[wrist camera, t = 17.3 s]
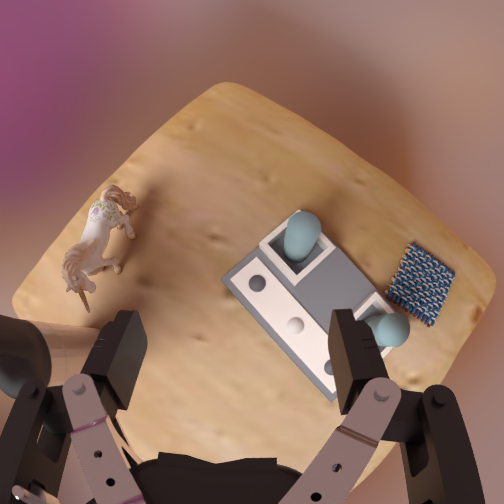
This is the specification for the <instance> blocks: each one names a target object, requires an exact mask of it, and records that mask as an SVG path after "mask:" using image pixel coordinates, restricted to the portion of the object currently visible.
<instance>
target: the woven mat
mask: <svg viewBox="0 0 504 504" xmlns="http://www.w3.org/2000/svg"><path fill="white" fill-rule="evenodd" d="M415 245H416V243H415V242H413V243H412V245H411V244H409V243H408V246H409V247H410V249H409V248H406V249H405V252H407V256H406V255H404V254H403V255H402V257H403V258H404V259H405V260H403V259H401V260H400V263H401V264H402V266H401V267H400V266H399V267H398V270H399V272H398V273H397V272H396V274H395V276H396V278H394V277H392V278H391V281H392V282H393V284H392V285H391V284H389V283H388V285H387V286H389V287H390V290H389V291H388V290H385V295H387V296H386V298H389V297H390V298H391V299H390V300H389V301H392V300H394V303H395V304H396V303H398V306H403V307H402V308H403V309H405V308H406V310H405V311H406V312H408V310H409V311H410V314H414V315H413V316H414V317H415V316H418V317H417V319H421V322H423V321H425V323H424V324H427V327H430V325H431V326H433V325H434V320H435V322H436V321H437V320H436V318H439V317H437V315H439V312H440V309H441V310H442V309H443V308H441V307H442V306H443V302H446V301H444V300H445V296H446V298H447V294H449V293H448V290H449V291H450V289H449V287H450V285H451V286H452V282H454V281H453V279H455V278H454V277H455V272H454V271H452V270H451V269H450V268H448V267H447V266H446V265H445V264H444V263H442V264H441V262H440V261H439V260H438V259H437V258H435V259H434V256H433V255H431V254H430V253H429V252H428V254H427V251H424V249H423V248H422V247H420V246H418V245H416V247H415ZM419 247H420V250H419ZM413 250H414V252H413ZM417 253H418V254H417ZM410 256H411V258H410ZM430 256H431V257H430ZM424 258H425V259H424ZM414 259H415V260H414ZM428 261H429V262H428ZM437 261H438V262H437ZM408 262H409V263H408ZM418 262H419V263H418ZM421 265H422V266H421ZM425 266H426V269H425ZM415 267H416V268H415ZM419 269H420V271H419ZM402 272H403V274H402ZM432 273H433V274H432ZM412 274H413V275H412ZM416 275H417V278H416ZM406 276H407V278H406ZM449 276H450V277H449ZM410 279H411V280H410ZM399 280H400V281H399ZM443 280H444V281H443ZM424 281H425V282H424ZM403 283H404V284H403ZM437 283H438V284H437ZM446 283H447V284H446ZM395 286H397V287H395ZM406 286H407V287H406ZM431 286H432V287H431ZM400 288H401V290H400ZM410 289H411V290H410ZM414 290H415V292H414ZM438 291H439V292H438ZM393 292H394V293H393ZM428 292H429V293H428ZM392 293H393V295H392ZM408 294H409V295H408ZM396 295H397V297H396ZM411 297H412V298H411ZM400 298H401V300H400ZM425 299H426V300H425ZM439 299H440V300H439ZM404 300H406V301H405V303H404ZM429 301H430V302H429ZM412 305H413V307H412ZM436 306H437V308H436ZM416 308H417V309H416ZM419 312H420V313H419ZM427 315H428V316H427Z"/></svg>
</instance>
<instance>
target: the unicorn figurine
mask: <svg viewBox="0 0 504 504" xmlns="http://www.w3.org/2000/svg"><path fill="white" fill-rule="evenodd" d="M129 195H130V192H123V191H122V190H121V189H120V188H119V187H118V186H115V185H109V186H108V187H107V188H105V189H104V190H103V191H102V193H101V198H100V199H97V200H96V201H95V202H94V203H93V204H92V206H91V208H90V210H89V214H88V220H87V223H86V226H85V229H84V231H83V234H82V237H81V240H80V241H79V243H78V244H76V245H75V246H73V247H72V248H71V249H70V250H69V251H68V252H67V253H66V254H65V259H64V260H63V264H62V274H63V279H65V281H66V282H67V283H68V286H67V290H66V292H68V291H69V290H71V289H72V290H73V291H74V292H75V293H79V295H80V297H81V299H82V301H83V302H84V305H85V307H86V309H87V311H88V313H90V308H89V305H88V303H87V300H86V297H85V294H84V292H83V290H85V291H89V293H93V292H94V291H95V289H96V285H95V283H94V282H92V281H90V280H89V279H88V278H87V276H92V275H96V274H98V273H99V272H101V271H102V270H103V269H104V267H103V266H109V265H113V266H114V270H115V273H116V274H119V273H120V272H121V267H120V266H119V265H118V264H119V263H120V262H121V260H119V259H118V258H117V257H113V258H112V259H103V258H102V254H103V252H104V250H105V249H106V247H107V244H108V241H109V235H110V230H111V229H112V228H114V227H116V226H117V229H118V230H120V229H122V228H123V226H125V231H126V235H127V237H129V238H130V239H135V238H136V234H135V232H133V227H132V226H130V225H129V215H128V214H126V215H123V213H122V212H121V211H119V209H118V206H117V204H116V203H118V204H119V205H121V206H122V208H123V209H124V210H126V209H128V210H129V211H132V210H133V209H136V208H137V207H138V205H135V202H136V197H135V196H132V197H130V196H129ZM110 198H111V199H112V200H111V199H110ZM115 202H116V203H115ZM80 270H81V271H80ZM82 271H83V272H84V273H85V274H86V275H87V276H86V275H85V274H84V273H83V272H82Z"/></svg>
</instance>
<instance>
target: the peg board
mask: <svg viewBox="0 0 504 504" xmlns="http://www.w3.org/2000/svg"><path fill="white" fill-rule="evenodd" d="M221 280H222V281H223V283H224V284H225V285H226V286H227V287H228V288H229V290H230V291H231V292H232V293H233V294H234V295H235V297H236V298H237V299H238V300H239V301H240V302H241V304H242V305H243V306H244V307H245V308H246V309H247V310H248V312H249V313H250V314H251V315H252V316H253V317H254V318H255V320H256V321H257V322H258V323H259V324H260V325H261V326H262V328H263V329H264V330H265V331H266V332H267V333H268V334H269V335H270V337H271V338H272V339H273V340H274V341H275V342H276V343H277V344H278V345H279V347H280V348H281V349H282V350H283V351H284V352H285V353H286V354H287V355H288V357H289V358H290V359H291V360H292V361H293V362H294V363H295V364H296V365H297V366H298V367H299V369H300V370H301V371H302V372H303V373H304V374H305V375H306V376H307V377H308V378H309V379H310V380H311V382H312V383H313V384H314V385H315V386H316V387H317V388H318V389H319V390H320V391H321V392H322V393H323V394H324V395H325V397H326V398H327V399H328V400H329V401H330V402H332V401H333V400H335V399H336V398H337V391H336V386H335V381H334V376H333V371H332V366H331V361H330V356H329V351H328V333H329V327H330V320H331V314H332V310H333V309H348V308H351V309H352V311H353V314H354V317H355V320H356V321H358V320H362V319H364V318H368V317H373V316H379V315H384V314H389V313H397V312H396V311H395V310H394V309H393V308H392V306H391V305H390V304H389V303H388V302H387V301H386V300H385V298H384V297H383V296H382V295H381V294H380V293H379V292H378V290H377V289H376V288H375V287H374V286H373V285H372V284H371V283H370V281H369V280H368V279H367V278H366V277H365V276H364V275H363V274H362V273H361V271H360V270H359V269H358V268H357V267H356V266H355V265H354V264H353V263H352V262H351V260H350V259H349V258H348V257H347V256H346V255H345V254H344V253H343V252H342V251H341V250H340V249H339V248H338V246H337V245H336V244H335V243H334V242H333V241H332V240H331V239H330V238H329V237H328V236H327V235H326V234H325V233H324V232H323V231H322V230H321V224H320V221H319V219H318V218H317V217H316V216H315V215H314V214H312V213H310V212H306V211H303V210H301V211H300V210H299V209H298V210H297V211H296V212H295V213H294V214H293V215H291V216H290V217H289V218H288V219H287V220H285V221H284V222H283V223H282V224H281V225H279V226H278V227H277V228H276V229H275V230H274V231H272V232H271V233H270V234H269V235H268V236H266V237H265V238H264V239H263V240H262V241H261V242H259V247H257V248H256V249H255V250H254V251H253V252H252V253H250V254H249V255H248V256H247V257H246V258H244V259H243V260H242V261H241V262H240V263H239V264H237V265H236V266H235V267H234V268H233V269H231V270H230V271H229V272H228V273H227V274H226V275H224V276H223V277H222V278H221ZM378 348H379V350H380V353H381V356H382V359H383V358H384V357H385V356H386V355H387V353H388V352H389V351H390V350H391V349H392V348H393V347H387V346H378Z"/></svg>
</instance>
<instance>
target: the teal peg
mask: <svg viewBox="0 0 504 504" xmlns="http://www.w3.org/2000/svg"><path fill="white" fill-rule="evenodd" d="M362 320H364V321H365V322H366V323H367V324H368V325H369V326H370V327H371V328H372V331H373V334H374V336H375V340H376V342H377V345H378V346H387V347H398V346H400V345H402V344H403V343H404V342H405V341H406V340H407V338H408V336H409V333H410V325H409V322H408V320H407V318H406V317H405V316H404V315H402V314H400V313H389V314H384V315H379V316H373V317H368V318H364V319H362Z"/></svg>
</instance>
